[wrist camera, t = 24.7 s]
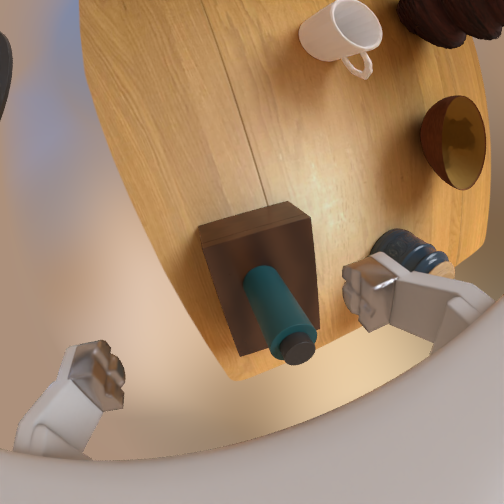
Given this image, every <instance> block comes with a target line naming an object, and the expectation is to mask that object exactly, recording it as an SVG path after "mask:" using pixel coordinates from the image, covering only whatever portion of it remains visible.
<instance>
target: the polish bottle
mask: <svg viewBox="0 0 504 504" xmlns="http://www.w3.org/2000/svg"><path fill="white" fill-rule="evenodd" d="M243 288H244V291H245V293H246V296H247V298H248V300H249V303H250V305H251V308H252V310H253V312H254V315H255V317H256V319H257V322H258V324H259V326H260V329H261V331H262V333H263V336H264V338H265V340H266V343H267V345H268V347H269V350H270V352H271V354H272V355H273V356H274V357H275V358H277V359H279V360H285V362H286V363H287V364H289V365H299V364H302V363H304V362H306V361H308V360H309V359H310V358H311V357H312V356H313V354H314V353H315V345H314V344H315V342H316V339H317V332H316V329H315V328H314V326H313V325H312V323H311V322H310V320H309V319H308V317H307V316H306V314H305V313H304V311H303V310H302V308H301V307H300V305H299V304H298V302H297V301H296V299H295V298H294V296H293V295H292V293H291V292H290V290H289V289H288V287H287V286H286V284H285V283H284V281H283V280H282V278H281V277H280V275H279V274H278V272H277V271H276V270H275V269H274V268H272V267H270V266H265V265H264V266H258V267H255V268H253V269H252V270H250V271H249V272H248V273H247V274H246V276H245V278H244V281H243Z"/></svg>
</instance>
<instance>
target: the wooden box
mask: <svg viewBox="0 0 504 504" xmlns="http://www.w3.org/2000/svg"><path fill="white" fill-rule="evenodd" d="M198 229H199V234H200V239H201V244H202V248H203V252H204V255H205V258H206V261H207V264H208V267H209V270H210V273H211V276H212V279H213V282H214V285H215V288H216V291H217V294H218V297H219V300H220V303H221V306H222V309H223V312H224V315H225V317H226V320H227V323H228V326H229V329H230V331H231V334H232V337H233V340H234V342H235V345H236V348H237V350H238V353H239V356H240V357H241V356H244V355H248V354H251V353H254V352H257V351H260V350H263V349H266V348H269V347H268V345H267V343H266V340H265V338H264V336H263V333H262V331H261V329H260V326H259V324H258V322H257V319H256V317H255V315H254V312H253V310H252V308H251V305H250V303H249V300H248V298H247V296H246V293H245V291H244V288H243V281H244V278H245V276H246V274H247V273H248V272H249V271H250V270H252V269H253V268H255V267H258V266H264V265H265V266H270V267H272V268H274V269H275V270H276V271H277V272H278V274H279V275H280V277H281V278H282V280H283V281H284V283H285V284H286V286H287V287H288V289H289V290H290V292H291V293H292V295H293V296H294V298H295V299H296V301H297V302H298V304H299V305H300V307H301V308H302V310H303V311H304V313H305V314H306V316H307V317H308V319H309V320H310V322H311V323H312V325H313V326H314V328H315V329H316V330H318V329H320V318H319V302H318V288H317V275H316V263H315V253H314V243H313V233H312V224H311V217H310V216H308V215H307V214H305V213H304V212H303V211H301V210H300V209H299V208H297V207H296V206H294V205H293V204H292V203H290V202H289V201H286V202H282V203H278V204H274V205H271V206H267V207H263V208H260V209H256V210H252V211H249V212H245V213H242V214H238V215H235V216H231V217H228V218H224V219H221V220H217V221H214V222H211V223H207V224H204V225H200V226H198Z"/></svg>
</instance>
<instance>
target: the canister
mask: <svg viewBox="0 0 504 504" xmlns="http://www.w3.org/2000/svg"><path fill="white" fill-rule="evenodd" d="M378 252H384V253H385V254H386V255H388V256H389V257H390V258H392V259H393V260H395V261H396V262H397V263H399V264H400V265H401V266H403V267H404V268H405V269H407V270H408V271H409V272H413V271H416V272H421V273H426V274H431V275H435V276H440V277H445V278H450V279H454V276H455V269H454V266H453V264H452V263H451V262H449V260H448V257H447V255H446V254H445V253H444V252H442V251H436V249H435V247H434V246H433V245H431V244H428V243H426V242H424V241H423V240H421V239H419V238H418V237H416V236H415V235H414V234H412V233H411V232H409V231H407V230H403V229H392V230H390V231H388V232H386V233H385V234H384V235H383V236H382V237H381V238H380V239H379V240H378V241H377V242H376V244H375V245H374V247H373V249H372V251H371V254H370V255H373V254H375V253H378Z"/></svg>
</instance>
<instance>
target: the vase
mask: <svg viewBox="0 0 504 504" xmlns="http://www.w3.org/2000/svg"><path fill="white" fill-rule="evenodd" d="M405 3H406V4H405ZM396 11H397V13H398V15H399V17H400V21H401V22H402V23H403V24H404V25H405V27H406V28H407V29H408V30H409V32H411V33H414V34H416V35H418V36H419V37H421V38H422V39H424V40H425V41H428V42H430V43H431V44H433V45H436V46H438V47H443V48H445V49H447V48H448V49H452V48H457V47H460V46H461V45H463V44H464V41H465V40H466V34H467V35H469V36H472V37H475V38H477V39H484V40H492V39H497V37H498V38H499V35H501V31H502V27H503V26H504V0H400V1H399V3H398V7H397V9H396ZM418 23H419V24H418Z"/></svg>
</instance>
